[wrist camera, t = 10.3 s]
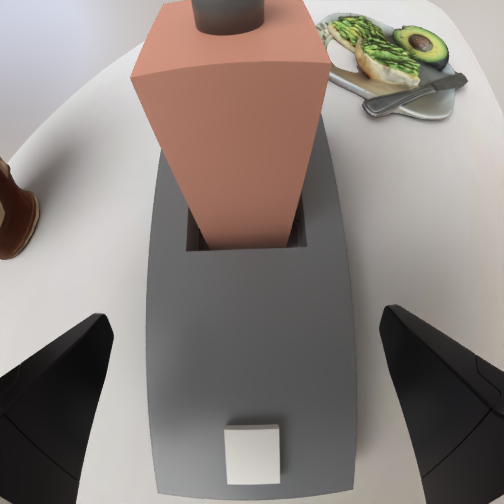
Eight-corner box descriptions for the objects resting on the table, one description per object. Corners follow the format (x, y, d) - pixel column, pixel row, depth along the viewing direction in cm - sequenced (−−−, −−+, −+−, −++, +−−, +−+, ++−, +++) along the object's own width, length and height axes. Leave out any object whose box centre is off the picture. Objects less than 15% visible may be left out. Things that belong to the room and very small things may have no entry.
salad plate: (446, 179, 20) (475, 148, 15) (260, 80, 23) (260, 39, 18) (462, 79, 24) (477, 54, 20) (338, 15, 27) (343, -12, 23)
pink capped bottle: (285, 249, 18) (343, 7, 4) (211, 253, 18) (109, 26, 4) (279, 185, 19) (302, -42, 5) (212, 188, 19) (154, -31, 5)
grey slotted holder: (339, 469, 13) (357, 495, 10) (172, 473, 13) (153, 499, 10) (314, 141, 20) (322, 105, 16) (176, 147, 20) (163, 112, 16)
